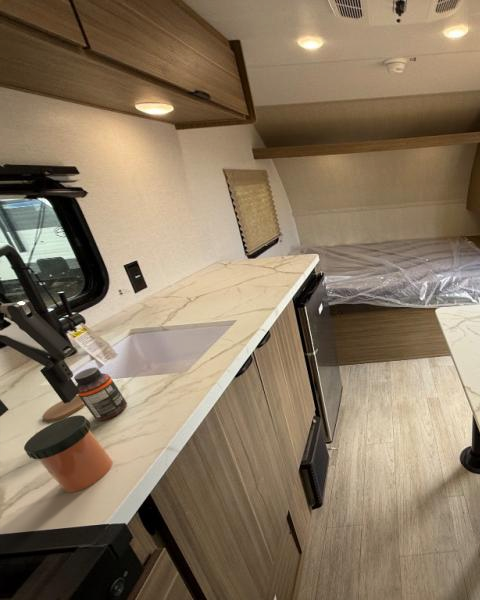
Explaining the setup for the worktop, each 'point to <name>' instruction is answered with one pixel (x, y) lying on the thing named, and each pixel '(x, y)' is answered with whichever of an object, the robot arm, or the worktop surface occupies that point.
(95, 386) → the supplement bottle
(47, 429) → the jam lid
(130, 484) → the worktop surface
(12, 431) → the worktop surface
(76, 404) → the coaster
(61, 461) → the jam jar
